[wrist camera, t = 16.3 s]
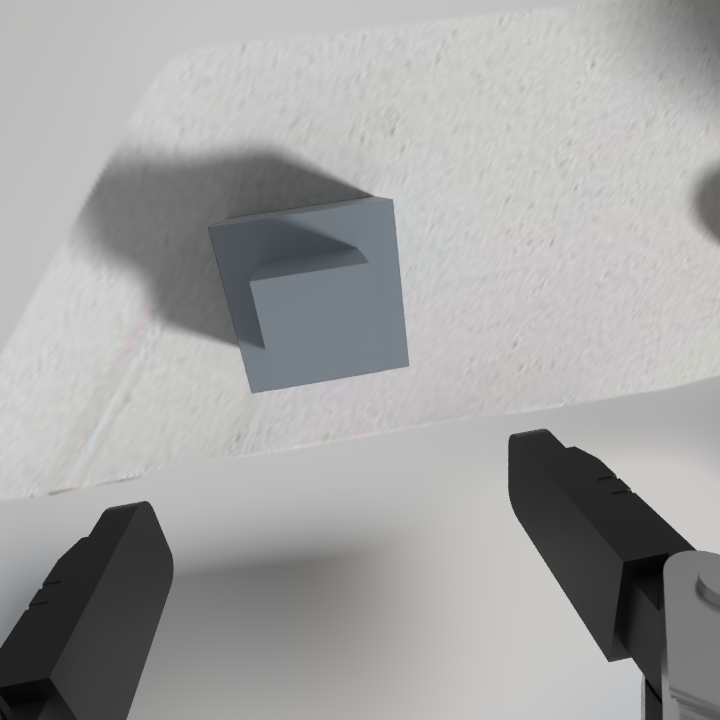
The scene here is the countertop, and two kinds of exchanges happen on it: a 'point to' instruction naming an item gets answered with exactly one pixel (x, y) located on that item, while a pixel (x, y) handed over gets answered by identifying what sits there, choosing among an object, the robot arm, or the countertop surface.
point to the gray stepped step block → (314, 291)
